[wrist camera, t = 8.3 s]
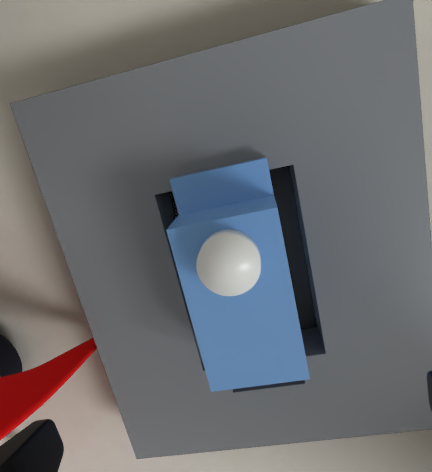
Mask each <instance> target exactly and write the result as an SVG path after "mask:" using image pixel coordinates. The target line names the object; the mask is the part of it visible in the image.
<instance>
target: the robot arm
mask: <svg viewBox="0 0 432 472" xmlns="http://www.w3.org/2000/svg"><path fill="white" fill-rule="evenodd" d="M427 387H428V398H429V405H430V409H431V412H432V370H431V371H429V372H428V373H427ZM63 451H64V447H63V442H62V440H61V438H60V435H59V433H58V430H57V428H56V426H55V423H54V422H53V421H52V420H50V419H45V420H38V421H35V422H33V423H31V424H30V425H29V426H27V427H26V428H25V429H23V430H22V431H20V432H19V433H18V434H16V435H15V436H14V437H12V438H11V439H9V440H8V441H7V442H5V443H4V444H3V445H1V446H0V472H58V469H59V466H60V463H61V459H62V456H63Z"/></svg>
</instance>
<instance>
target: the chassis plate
mask: <svg viewBox="0 0 432 472" xmlns="http://www.w3.org/2000/svg"><path fill="white" fill-rule="evenodd" d="M10 106H11V108H12V111H13V114H14V117H15V120H16V122H17V125H18V128H19V131H20V134H21V136H22V139H23V142H24V145H25V148H26V150H27V153H28V156H29V159H30V162H31V164H32V167H33V170H34V173H35V176H36V178H37V181H38V184H39V187H40V190H41V192H42V195H43V198H44V201H45V204H46V206H47V209H48V212H49V215H50V218H51V220H52V223H53V226H54V229H55V232H56V234H57V237H58V240H59V243H60V246H61V248H62V251H63V254H64V257H65V260H66V262H67V265H68V268H69V271H70V274H71V276H72V279H73V282H74V285H75V288H76V290H77V293H78V296H79V299H80V302H81V304H82V307H83V310H84V313H85V316H86V318H87V321H88V324H89V327H90V330H91V332H92V335H93V338H94V341H95V344H96V346H97V349H98V352H99V355H100V358H101V360H102V363H103V366H104V369H105V372H106V374H107V377H108V380H109V383H110V386H111V388H112V391H113V394H114V397H115V400H116V402H117V405H118V408H119V411H120V414H121V416H122V419H123V422H124V425H125V428H126V430H127V433H128V436H129V439H130V442H131V444H132V447H133V450H134V453H135V456H136V458H137V459H142V458H152V457H162V456H172V455H182V454H192V453H201V452H211V451H221V450H231V449H241V448H251V447H261V446H271V445H280V444H290V443H300V442H310V441H320V440H330V439H340V438H350V437H359V436H369V435H379V434H389V433H399V432H409V431H419V430H429V429H432V412H431V409H430V405H429V398H428V387H427V373H428V372H429V371H431V370H432V243H431V230H430V217H429V204H428V191H427V178H426V165H425V152H424V139H423V126H422V113H421V100H420V87H419V74H418V61H417V48H416V35H415V22H414V9H413V0H383V1H380V2H376V3H372V4H369V5H365V6H361V7H358V8H354V9H351V10H347V11H343V12H340V13H336V14H333V15H329V16H325V17H322V18H318V19H314V20H311V21H307V22H304V23H300V24H296V25H293V26H289V27H285V28H282V29H278V30H275V31H271V32H267V33H264V34H260V35H257V36H253V37H249V38H246V39H242V40H238V41H235V42H231V43H228V44H224V45H220V46H217V47H213V48H209V49H206V50H202V51H199V52H195V53H191V54H188V55H184V56H181V57H177V58H173V59H170V60H166V61H162V62H159V63H155V64H152V65H148V66H144V67H141V68H137V69H133V70H130V71H126V72H123V73H119V74H115V75H112V76H108V77H105V78H101V79H97V80H94V81H90V82H86V83H83V84H79V85H76V86H72V87H68V88H65V89H61V90H57V91H54V92H50V93H47V94H43V95H39V96H36V97H32V98H29V99H25V100H21V101H18V102H14V103H10ZM263 157H267V161H268V166H269V170H271V169H275V168H280V167H285V166H289V167H290V173H291V178H292V184H293V190H294V196H295V201H296V207H297V213H298V219H299V224H300V230H301V236H302V242H303V247H304V253H305V259H306V265H307V270H308V276H309V282H310V288H311V293H312V299H313V305H314V311H315V316H316V322H317V327H315V328H308V329H302V330H301V334H302V339H303V344H304V350H305V355H306V360H307V365H308V371H309V376H310V379H309V380H301V381H293V382H285V383H277V384H269V385H262V386H254V387H246V388H238V389H230V390H222V391H214V392H211V390H210V386H209V383H208V379H207V375H206V372H205V368H204V364H203V361H202V357H201V354H200V350H199V346H198V343H197V339H196V336H195V332H194V328H193V325H192V321H191V318H190V314H189V310H188V307H187V303H186V299H185V296H184V292H183V289H182V285H181V281H180V278H179V274H178V271H177V267H176V263H175V260H174V256H173V253H172V249H171V245H170V242H169V238H168V234H167V231H166V230H167V229H168V227H169V226H170V225H171V224H172V223H173V221H174V220H175V219H176V218H175V215H174V211H173V207H172V203H171V200H170V196H169V192H170V191H172V187H171V184H170V179H172V178H174V177H178V176H183V175H187V174H192V173H196V172H201V171H205V170H209V169H214V168H218V167H223V166H227V165H232V164H236V163H240V162H245V161H249V160H254V159H258V158H263Z"/></svg>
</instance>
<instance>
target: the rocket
mask: <svg viewBox="0 0 432 472" xmlns="http://www.w3.org/2000/svg"><path fill="white" fill-rule="evenodd" d="M96 349H97V346H96V344H95V341H94V338H92V339H90V340H88V341H86V342H84V343H82V344H80V345H79V346H77V347H75V348H73V349H71V350H69V351H67V352H65V353H64V354H62V355H60V356H58V357H56V358H54V359H52V360H50V361H48V362H46V363H44V364H42V365H40V366H38V367H36V368H33V369H31V370H27V371H24V372H22V363H21V359H20V357H19V355H18V353H17V351H16V349H15V348H14V347H13V345H12V344H11V343H10V342H9V341H8V340H7V339H6V338H5V337H3V336H2V335H0V440H1V439H2V438H4V437H5V436H6V435H7V434H9V433H10V432H11V431H12V430H14V429H15V428H16V427H17V426H18V425H20V424H21V423H22V422H23V421H24V420H26V419H27V418H28V417H29V416H30V415H31V414H33V413H34V412H35V411H36V410H37V409H38V408H39V407H40V406H42V405H43V404H44V403H45V402H46V401H47V400H48V399H49V398H50V397H51V396H52V395H53V394H54V393H55V392H56V391H57V390H58V389H59V388H60V387H61V386H62V385H63V384H64V383H65V382H66V381H67V380H68V379H69V378H70V377H71V376H72V375H73V374H74V372H75V371H76V370H77V369H78V368H79V367H80V366H81V365H82V364H83V363H84V362H85V361H86V360H87V358H88V357H89V356H90V355H91V354H92V353H93V352H94V351H95V350H96Z"/></svg>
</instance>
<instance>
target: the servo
mask: <svg viewBox="0 0 432 472" xmlns="http://www.w3.org/2000/svg"><path fill="white" fill-rule="evenodd" d="M170 184H171V187H172V191H173V195H174V199H175V203H176V206H177V210H178V214H179V215H178V217H177V218H176V219H175V220H174V221H173V223H172V224H171V225H170V226H169V227H168V229H167V230H166V231H167V234H168V238H169V242H170V245H171V249H172V253H173V256H174V260H175V263H176V267H177V271H178V274H179V278H180V281H181V285H182V289H183V292H184V296H185V299H186V303H187V307H188V310H189V314H190V318H191V321H192V325H193V328H194V332H195V336H196V339H197V343H198V346H199V350H200V354H201V357H202V361H203V364H204V368H205V372H206V375H207V379H208V383H209V386H210V390H211V392H214V391H222V390H230V389H238V388H246V387H254V386H262V385H269V384H277V383H285V382H293V381H301V380H309V379H310V376H309V371H308V365H307V360H306V355H305V350H304V344H303V339H302V334H301V328H300V323H299V318H298V313H297V307H296V302H295V297H294V292H293V286H292V281H291V276H290V271H289V265H288V260H287V255H286V250H285V244H284V239H283V234H282V228H281V223H280V218H279V213H278V207H277V204H276V200H275V197H274V193H273V187H272V182H271V177H270V172H269V166H268V161H267V157H263V158H258V159H254V160H249V161H245V162H240V163H236V164H232V165H227V166H223V167H218V168H214V169H209V170H205V171H201V172H196V173H192V174H187V175H183V176H178V177H174V178H172V179H170Z"/></svg>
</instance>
